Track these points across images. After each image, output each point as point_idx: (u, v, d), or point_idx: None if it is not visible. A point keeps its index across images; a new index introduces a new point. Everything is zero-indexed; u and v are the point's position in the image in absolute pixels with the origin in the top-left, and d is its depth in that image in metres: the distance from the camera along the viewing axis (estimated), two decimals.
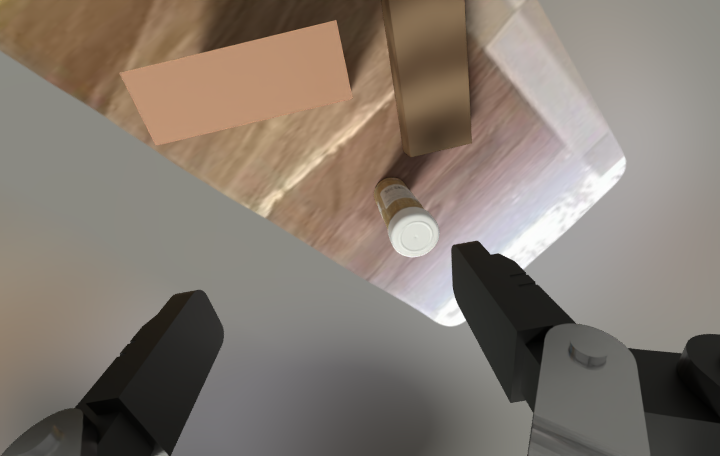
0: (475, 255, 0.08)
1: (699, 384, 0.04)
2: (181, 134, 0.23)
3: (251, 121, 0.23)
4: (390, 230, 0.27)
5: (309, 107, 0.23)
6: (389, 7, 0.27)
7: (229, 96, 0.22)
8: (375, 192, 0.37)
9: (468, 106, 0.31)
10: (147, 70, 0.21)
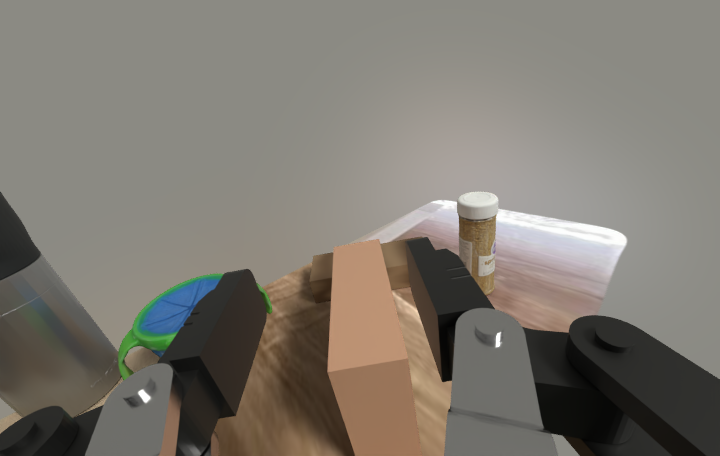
0: (421, 250, 0.09)
1: (583, 364, 0.05)
2: (397, 331, 0.20)
3: (388, 283, 0.25)
4: (477, 211, 0.33)
5: (381, 255, 0.30)
6: None
7: (366, 294, 0.25)
8: None
9: (398, 241, 0.47)
10: (332, 346, 0.20)
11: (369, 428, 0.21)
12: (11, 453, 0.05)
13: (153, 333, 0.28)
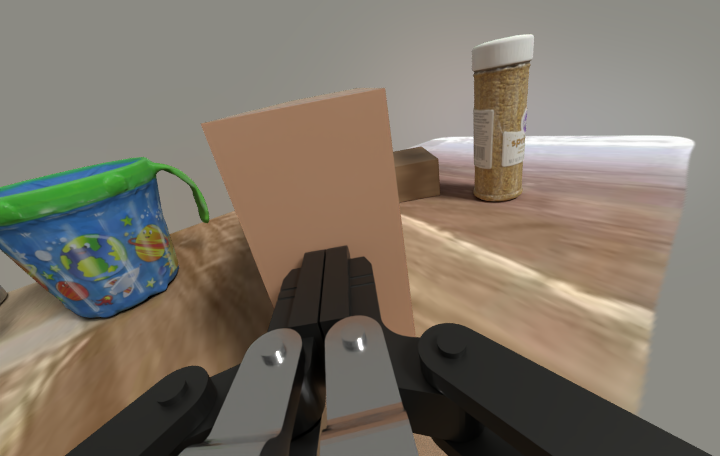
0: (335, 258, 0.09)
1: (434, 379, 0.05)
2: (367, 89, 0.10)
3: (362, 88, 0.15)
4: (504, 49, 0.22)
5: (357, 88, 0.19)
6: None
7: (322, 96, 0.14)
8: (498, 194, 0.27)
9: None
10: (233, 116, 0.10)
11: None
12: (165, 407, 0.05)
13: None
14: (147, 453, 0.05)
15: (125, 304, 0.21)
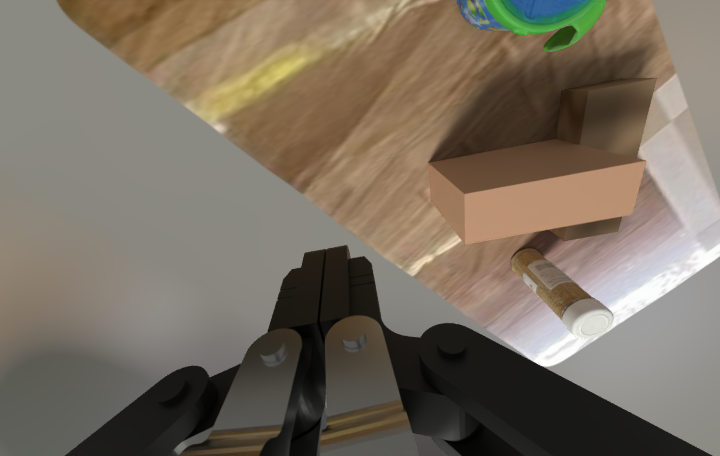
0: (335, 258, 0.09)
1: (434, 379, 0.05)
2: (488, 237, 0.28)
3: (546, 228, 0.28)
4: (571, 318, 0.32)
5: (595, 220, 0.28)
6: (580, 128, 0.32)
7: (539, 211, 0.27)
8: (514, 260, 0.43)
9: None
10: (486, 192, 0.26)
11: (441, 187, 0.32)
12: (165, 407, 0.05)
13: None
14: (148, 453, 0.05)
15: (462, 13, 0.29)
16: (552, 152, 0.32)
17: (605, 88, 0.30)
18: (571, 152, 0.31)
